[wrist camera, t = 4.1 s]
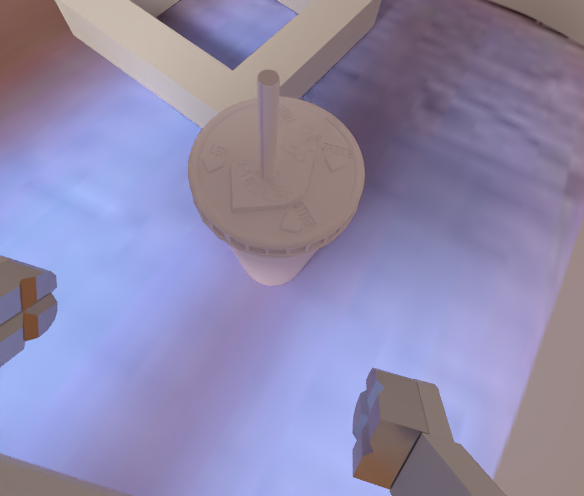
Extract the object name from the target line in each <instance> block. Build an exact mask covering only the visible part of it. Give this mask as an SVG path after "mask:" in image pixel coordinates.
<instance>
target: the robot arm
mask: <svg viewBox="0 0 584 496" xmlns="http://www.w3.org/2000/svg"><path fill="white" fill-rule="evenodd" d="M56 288H57V282H56V275H55V274H53V273H52V272H51V271H48V270H45V269H42V268H39V267H36V266H33V265H29V264H26V263H23V262H20V261H17V260H13V259H10V258H7V257H4V256H0V367H1V366H3V365H4V364H5V363H6V362H8V361H9V360H10V359H12V358H13V357H14V356H15V355H17V354H18V353H19V352H21V351H22V350H23V349H24V346H25V341H28V340H31V339H35V338H38V337H40V336H41V335H42V334H43V333H45V332H46V331H47V330H48V329H49V327H50V326H51V324H52V323H53V321H54V320H55V317H56V313H57V301H56V299H55V298H54V296H53V295H52V292H53V291H54V290H55V289H56ZM366 384H367V390H366V391H364V392H362V393H360V396H359V398H358V401H357V404H356V407H355V412H354V416H353V435H354V436H355V438H356V439H357V441H356V443H355V446H354V448H353V477H355V478H358V479H360V480H363V481H366V482H369V483H372V484H375V485H378V486H381V487H384V488H387V489H390V493H391V495H392V496H506V495H505V493H504V492H503V491H502V490H501V489H500V488H499V487H498V486H497V484H496V483H495V482H494V481H493V480H492V479H491V478H490V477H489V475H488V474H487V473H486V472H485V471H484V470H483V469H482V468H481V466H480V465H479V464H478V463H477V462H476V461H475V460H474V459H473V457H472V456H471V455H470V454H469V453H468V452H467V451H466V450H465V449H464V447H463V446H462V445H461V444H458V443H455V442H454V440H453V437H452V433H451V430H450V427H449V423H448V420H447V417H446V413H445V410H444V407H443V404H442V400H441V397H440V394H439V390H438V388H437V386H436V385H435V384H431V383H428V382H424V381H420V380H417V379H410V378H407V377H404V376H400V375H397V374H393V373H390V372H387V371H383V370H380V369H376V368H372V370H371V371H370V373H369V375H368V377H367V379H366ZM0 496H131V495H128V494H125V493H122V492H119V491H116V490H113V489H110V488H107V487H103V486H100V485H97V484H94V483H91V482H88V481H85V480H82V479H79V478H75V477H72V476H69V475H66V474H63V473H60V472H57V471H54V470H51V469H47V468H44V467H41V466H38V465H35V464H32V463H29V462H26V461H22V460H19V459H16V458H13V457H10V456H7V455H4V454H1V453H0Z"/></svg>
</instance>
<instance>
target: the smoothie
mask: <svg viewBox="0 0 584 496" xmlns="http://www.w3.org/2000/svg"><path fill="white" fill-rule="evenodd" d="M279 89H280V76H279V74H278V73H277V72H276V71H274V70H272V69H264V70H262V71H260V72H259V73H258V75H257V96H258V98H252V99H248V100H245V101H242V102H239V103H236V104H234V105H232V106H230V107H228V108H226V109H224V110H223V111H221V112H220V113H218V114H217V115H216V116H215V117H213V118H212V119H211V120H210V121H209V122H208V123H207V124H206V125H205V126H204V128H203V129H202V130H201V132H200V133H199V135H198V136H197V138H196V140H195V142H194V144H193V147H192V149H191V153H190V157H189V162H188V178H189V184H190V188H191V191H192V195H193V201H194V204H195V206H196V208H197V210H198V212H199V214H200V216H201V218H202V220H203V222H204V223H205V224H206V225H207V226H208V227H209V228H210V229H211V230H212V231H213V232H214V234H215V235H216V236H217V237H218V238H219V239H221V240H223V241H224V242H226V243H228V244H229V246H230V247H231V249H232V250H233V252H234V253H235V255H236V256H237V258H238V260H239V261H240V263H241V264H242V266H243V267H244V269H245V270H246V272H247V273H248V274H249V276H250V277H251V278H253V279H254V280H255V281H257V282H259V283H261V284H264V285H269V286H277V285H282V284H285V283H287V282H289V281H291V280H292V279H294V278H295V277H296V276H297V275H298V273H299V272H300V271H301V270H302V268H303V267H304V266H305V265H306V263H307V262H308V261H309V260H310V259H311V257H312V256H313V255H314V254H315V252H316V251H317V250H318V249H319V248H321V247H323V246H325V245H327V244H329V243H330V242H332V241H333V240H334V239H335V238H336V237H337V236H338V235H339V234H340V233H342V232H343V231H344V230H345V229H346V227H347V226H348V224H349V223H350V221H351V219H352V218H353V216H354V214H355V213H356V211H357V207H358V203H359V200H360V198H361V195H362V192H363V188H364V181H365V167H364V161H363V157H362V153H361V151H360V148H359V146H358V144H357V142H356V140H355V138H354V137H353V135H352V134H351V132H350V131H349V130H348V128H347V127H346V126H345V125H344V124H343V123H342V122H341V121H340V120H339V119H337V118H336V117H335V116H334V115H332V114H331V113H329V112H328V111H326V110H325V109H323V108H321V107H319V106H317V105H315V104H312V103H310V102H307V101H304V100H300V99H296V98H291V97H283V96H279Z"/></svg>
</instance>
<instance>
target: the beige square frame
mask: <svg viewBox="0 0 584 496" xmlns="http://www.w3.org/2000/svg"><path fill="white" fill-rule="evenodd" d="M178 1H180V0H55V2H56V3H57V5H58V7H59V9H60V11H61V13H62V14H63V16H64V18H65V20H66V22H67V24H68V26H69V27H70V29H71V31H72V33H73V35H74V36H76V37H77V38H78V39H80V40H81V41H82V42H84V43H85V44H87V45H88V46H89V47H91V48H92V49H93V50H95V51H96V52H98V53H99V54H100V55H102V56H103V57H104V58H106V59H107V60H109V61H110V62H111V63H113V64H114V65H115V66H117V67H118V68H120V69H121V70H122V71H124V72H125V73H126V74H128V75H129V76H131V77H132V78H133V79H135V80H136V81H138V82H139V83H140V84H142V85H143V86H144V87H146V88H147V89H149V90H150V91H151V92H153V93H154V94H155V95H157V96H158V97H160V98H161V99H162V100H164V101H165V102H166V103H168V104H169V105H171V106H172V107H173V108H175V109H176V110H177V111H179V112H180V113H182V114H183V115H184V116H186V117H187V118H188V119H190V120H191V121H193V122H194V123H195V124H197V125H198V126H199V127H201V128H202V129H203V128H204V126H205V125H206V124H207V123H208V122H209V121H210V120H211V119H212V118H213V117H215V116H216V115H217V114H218V113H220V112H221V111H223V110H224V109H226V108H228V107H230V106H232V105H234V104H236V103H239V102H242V101H245V100H248V99H252V98H258V96H257V75H258V73H259V72H260V71H262V70H264V69H272V70H274V71H276V72H277V73H278V74H279V76H280V89H279V96H283V97H291V98H296V99H300V98H301V97H302V96H303V95H304V94H305V93H306V92H307V91H308V90H309V89H310V88H311V87H312V86H313V85H314V84H315V83H316V82H317V81H319V80H320V79H321V78H322V77H323V76H324V75H325V74H326V73H327V72H328V71H329V70H330V69H331V68H332V67H333V66H334V65H335V64H336V63H337V62H338V61H339V60H340V59H341V58H342V57H343V56H344V55H345V54H346V53H347V52H348V51H349V50H350V49H351V48H352V47H353V46H354V45H355V44H356V43H357V42H358V41H359V40H360V39H361V38H363V37H364V36H365V35H366V34H367V33H368V32H369V31H370V30H371V29H372V28H373V27H374V24H375V21H376V18H377V14H378V11H379V8H380V4H381V1H382V0H277V1H279V2H280V3H282V4H283V5H285V6H287V7H288V8H290V9H292V10H293V11H295V12H296V13H298V15H297V16H296V17H294V18H293V19H292V20H291V21H290V22H289V23H287V24H286V25H285V26H284V27H283V28H282V29H280V30H279V31H278V32H277V33H276V34H275V35H273V36H272V37H271V38H270V39H269V40H268V41H266V42H265V43H264V44H263V45H262V46H261V47H259V48H258V49H257V50H256V51H255V52H254V53H252V54H251V55H250V56H249V57H248V58H247V59H245V60H244V61H243V62H242V63H241V64H240V65H239V66H237V67H236V68H235V69H234V70H231V69H230V68H228V67H227V66H225V65H224V64H222V63H221V62H220V61H218V60H217V59H215V58H214V57H212V56H211V55H209V54H208V53H206V52H205V51H203V50H202V49H200V48H199V47H197V46H196V45H194V44H193V43H191V42H190V41H189V40H187V39H186V38H184V37H183V36H181V35H180V34H178V33H177V32H175V31H174V30H172V29H171V28H169V27H168V26H166V25H165V24H163V23H162V22H161V21H159V20H158V19H156V17H157V16H159V15H160V14H162V13H163V12H164V11H166V10H167V9H169V8H170V7H171V6H173V5H174V4H175V3H177V2H178Z"/></svg>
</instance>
